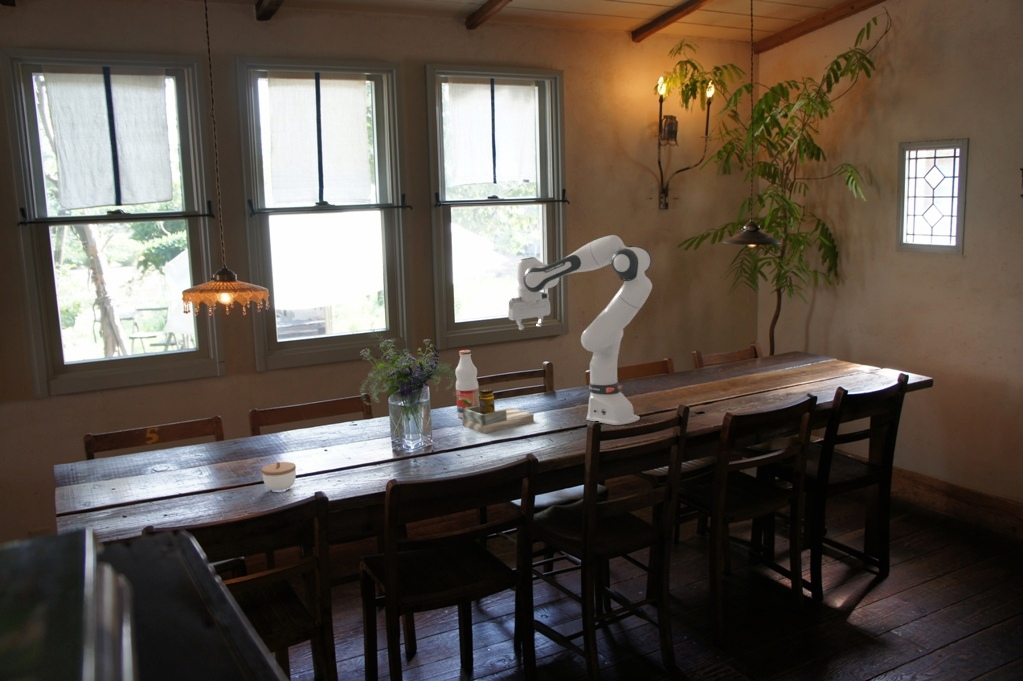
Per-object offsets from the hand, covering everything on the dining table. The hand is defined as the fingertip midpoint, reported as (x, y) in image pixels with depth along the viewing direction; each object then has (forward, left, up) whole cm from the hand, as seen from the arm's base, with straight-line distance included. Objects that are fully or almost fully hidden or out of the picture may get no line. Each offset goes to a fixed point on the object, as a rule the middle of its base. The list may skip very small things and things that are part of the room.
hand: (530, 328), depth 363 cm
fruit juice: (+9, +28, -35) cm, 46 cm away
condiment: (-10, +32, -32) cm, 46 cm away
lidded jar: (-25, +123, -35) cm, 130 cm away
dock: (-10, +26, -35) cm, 44 cm away
